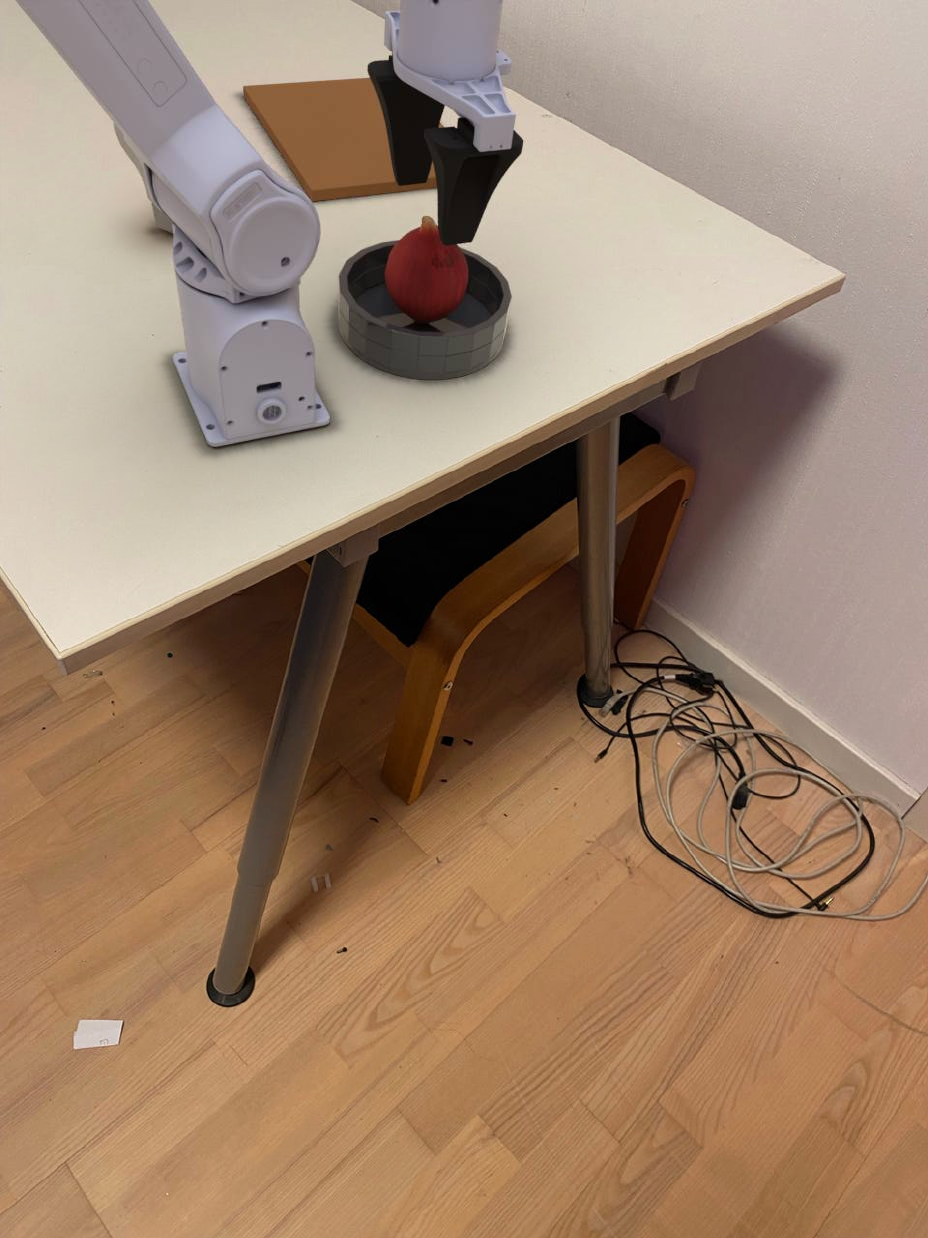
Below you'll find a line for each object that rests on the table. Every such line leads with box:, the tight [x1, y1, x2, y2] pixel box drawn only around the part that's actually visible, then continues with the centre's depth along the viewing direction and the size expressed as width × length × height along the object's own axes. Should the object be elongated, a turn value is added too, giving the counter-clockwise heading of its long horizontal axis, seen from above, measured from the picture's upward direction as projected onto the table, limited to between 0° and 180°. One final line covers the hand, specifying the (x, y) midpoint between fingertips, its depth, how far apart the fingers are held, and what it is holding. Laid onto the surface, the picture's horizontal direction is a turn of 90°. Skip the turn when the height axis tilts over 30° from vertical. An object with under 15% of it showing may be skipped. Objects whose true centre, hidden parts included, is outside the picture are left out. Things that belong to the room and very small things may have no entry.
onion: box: [385, 215, 468, 324], centre depth 64 cm, size 6×6×8 cm
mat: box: [242, 77, 445, 202], centre depth 85 cm, size 20×16×1 cm
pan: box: [337, 239, 513, 381], centre depth 66 cm, size 12×12×4 cm
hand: (432, 210), depth 61 cm, fingers open, 7 cm apart
